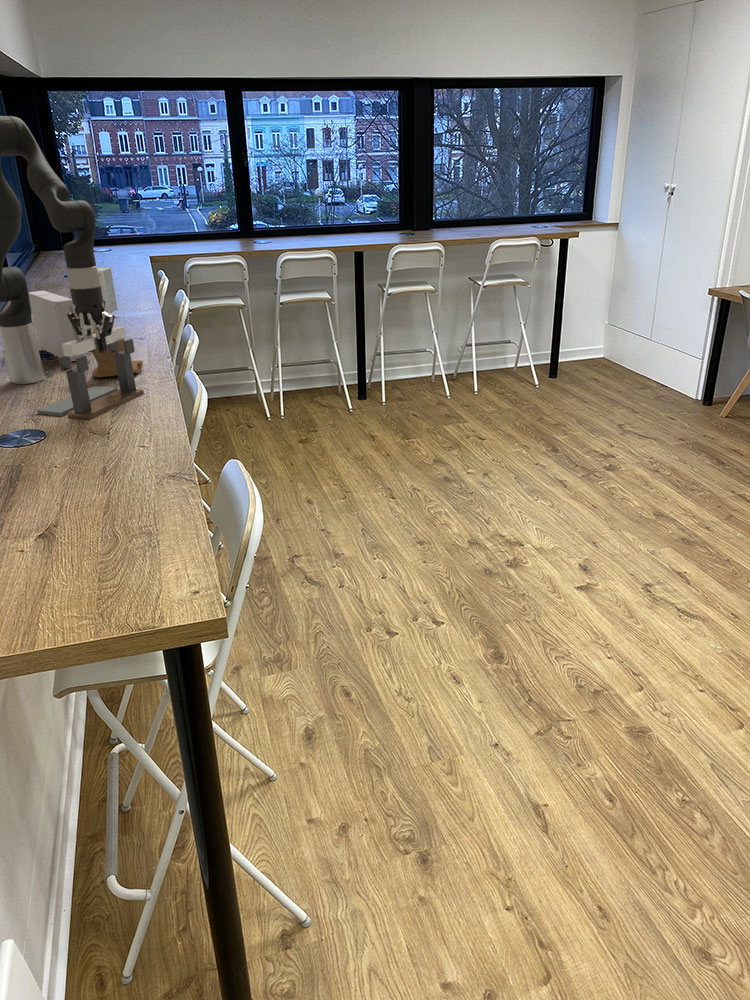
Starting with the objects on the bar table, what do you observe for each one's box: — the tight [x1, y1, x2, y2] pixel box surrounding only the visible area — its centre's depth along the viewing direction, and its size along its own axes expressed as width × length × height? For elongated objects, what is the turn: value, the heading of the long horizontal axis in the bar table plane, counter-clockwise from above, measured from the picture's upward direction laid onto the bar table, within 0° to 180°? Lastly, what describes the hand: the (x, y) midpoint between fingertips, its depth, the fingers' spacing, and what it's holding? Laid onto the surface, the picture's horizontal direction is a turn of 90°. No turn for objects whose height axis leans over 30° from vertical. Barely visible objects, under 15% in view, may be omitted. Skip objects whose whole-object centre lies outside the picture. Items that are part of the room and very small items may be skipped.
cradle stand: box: [57, 338, 145, 420], centre depth 201 cm, size 7×23×16 cm, turn 160°
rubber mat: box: [36, 385, 118, 417], centre depth 207 cm, size 8×23×1 cm, turn 160°
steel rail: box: [62, 325, 127, 357], centre depth 197 cm, size 3×21×3 cm, turn 160°
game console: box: [28, 290, 86, 361], centre depth 254 cm, size 6×27×20 cm, turn 41°
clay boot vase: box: [91, 325, 144, 378], centre depth 229 cm, size 15×12×15 cm
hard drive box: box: [97, 267, 119, 314], centre depth 312 cm, size 16×8×20 cm, turn 81°
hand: (97, 351), depth 198 cm, fingers closed on steel rail, 3 cm apart
